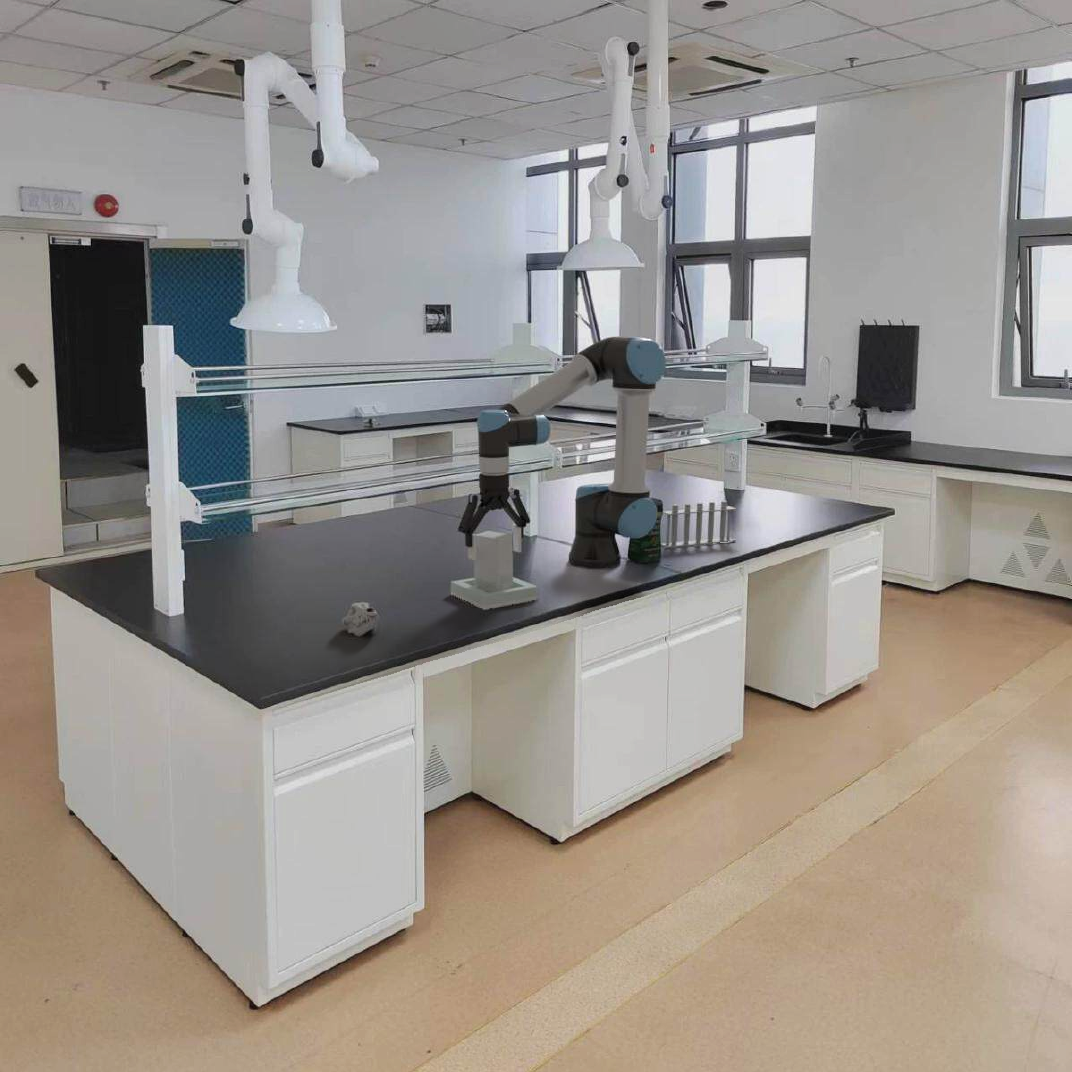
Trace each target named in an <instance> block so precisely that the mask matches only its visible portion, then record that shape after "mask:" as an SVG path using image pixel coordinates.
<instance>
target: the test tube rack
mask: <svg viewBox="0 0 1072 1072" xmlns="http://www.w3.org/2000/svg"><path fill="white" fill-rule="evenodd" d="M703 504H704V503H703V502H697V503H696V508H691V503H685V504H684V509H679V505H678V504H672V510H665V511H664V510H663V515H666V517H667V518H666V519H667V520H666V521H667V522H666V541H665V542H663V543H661V547H662V546H663V547H662V548H664V547H666V548H670V549H678V548H677V547H681V548H687V547H686V546H691V547H696V546H695V545H702V546H705V545H704V544H712V545H714V544H713V543H720V542H728V541H735V542H736V541H737V540H736V539H733V538H731V537H730V531H731V530H730V529H731V513H732V511H737V510H738V509H737V508H736V507H733V506H730V505H728V503H727V500H722V501H721V504H720V506H715V505H716V504H715V501H709V502H708V507H703V506H704V505H703ZM715 512H720V519H719V520H720V522H719V538H717V537H716V538H714V530H715V529H714V527H715V525H714V524H715ZM703 513H708V521H707V522H708V523H707V538H705V539H704V538H703V539H702V526H703V525H702V524H703ZM691 514H696V517H695V518H696V521H695V523H696V524H695V539H694V540H690V529H691V528H690V526H691V524H690V523H691ZM678 515H684V516H683V517H684V518H683V538H682V539H683V540H682V541H677V539H678V520H679V519H678V517H679V516H678ZM670 523H671V524H670ZM670 525H671V527H670ZM726 525H727V528H726ZM670 529H671V537H670ZM670 538H671V539H670ZM666 548H665V549H666Z"/></svg>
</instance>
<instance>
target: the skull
mask: <svg viewBox="0 0 1072 1072" xmlns="http://www.w3.org/2000/svg"><path fill="white" fill-rule="evenodd" d="M378 621H380V616H379V614H378V612H377V611H376V610H375V608H374V607H371V606H370V603H368V602H365V601H364V602H363V601H361V602H353V603H352V604H351V606H350V609H349V610H348V612H347V615H346V616H344V617H342V619H341V622H342V625H343V627H344V628H346V629H347V633H348V634H354V636H356V637H357V638H358V637H361V636H363V635H365V634H366V633H367V632H369V631H372V632H373V633H376V631H377V626H378Z"/></svg>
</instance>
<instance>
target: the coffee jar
mask: <svg viewBox="0 0 1072 1072" xmlns="http://www.w3.org/2000/svg"><path fill="white" fill-rule="evenodd" d="M650 499H651V500H652V501H653V502H654V503H655V505H656V507H657V520H656V523H655V525H654V527H653V528H652V530H650V531H649V533H648V534H647V535H645V536H644V537H641V538H637V539H634V538H629V540H628V543H629V544H628V549H627V559H628V560H629V561H630V562H632V563H639V564H648V563H649V564H650V563H654V562H660V560H661V559H662V546H661V538H662V537H661V522H662V518H663V515H664V513H663V511H664V504H663V500H662V499H659V498H656V497H650Z"/></svg>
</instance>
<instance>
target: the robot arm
mask: <svg viewBox="0 0 1072 1072" xmlns="http://www.w3.org/2000/svg"><path fill="white" fill-rule="evenodd" d="M666 367H667V359H666V355H665V352H664V350H663V348H662V347H661V346H660V345H659V344H658V343H657V342H656V341H655V340H653V339H649V338H644V337H627V336H626V337H625V336H609V337H606V338H603V339H600V340H598V341H597V342H595V343H593V344H591V345H589V346H587V347H586V348H584V349H582V350H581V351H579V352H578V353H576V354H574V355H573V356H572V358H571V361H570V362H569V363H567V364H566V365H564V366H563V367H561V368H560V369H558V370H557V371H555V372H553V373H552V374H550V375H549V376H547V377H545V378H544V379H542V380H540V381H539V382H538V383H536V384H535V385H533V386H531V387H530V388H528V389H527V390H525V391H523V392H522V393H521V394H519V395H517V396H516V397H515V398H512V399H511V400H510V401H508V402H507V403H505V404H503V405H501V406H500V407H497V408H496V409H485V410H484V409H483V410H481V411H480V412H479V413H478V418H477V421H476V427H477V434H478V435H477V436H478V437H477V438H478V472H480V473H479V475H478V487H479V494H474V493H469V494H468V497H467V498H468V500H467V502H468V503H467V504H466V508H465V510H464V512H463V514H462V517H461V521H460V523H459V526H458V527H457V531H458V532H459V533H462V534H464V539H465V540H464V542H465V544H464V545H465V547H467V557H468V558H467V559H469V560H472V561H474V560H476V534H475V532H476V529H477V528H478V527H479V525H480V524H481V522H482V520H483V518H484V517H485V516H486V514H488V513H489V512H490V511H495V510H503V511H504V512H505V513H506V514H507V515H508V517H509V518H510V519H511V520H512V521H513V523H514V524H515V525H513V526H512V552H513V551H514V552H515V553H522V539H524V536H525V535H524V534H525V533H524V532H525V531H524V528H525V527H527V524H530V523H531V519H530V516H529V515H528V512H527V510H526V507H525V506H524V503H523V500H522V499H521V493H520V490H519V489H517V488H514V487H510V474H509V473H508V472H509V471H510V448H515V447H516V448H517V447H525V446H537V445H542V444H545V443H547V442H548V440H549V439H550V436H551V425H550V422H549V419H548V418H547V416H545V415H544V413H545V412H547V411H548V410H550V409H552V408H553V407H555V406H556V405H558V404H559V403H561V402H563V401H564V400H566V399H567V398H568V397H571V396H573V394H575V393H576V392H578V391H579V390H581V389H583V388H584V387H586V386H587V387H592V386H594V385H596V384H597V383H599V382H601V381H606V380H607V381H608V380H612V386H611V387H612V390H614V392H615V393H616V394H617V404H616V420H615V421H616V425H615V426H616V427H615V444H614V447H615V448H614V466H613V470H614V471H613V482H612V483H592V484H583V485H580V486H579V487H578V488H576V492H575V499H574V500H575V510H574V511H575V514H574V515H575V518H574V519H575V521H574V524H575V525H574V526H575V529H574V539H573V542H572V545H571V548H570V551H569V552H568V563H569V564H570V565H571V566H574V567H578V568H583V569H594V570H595V569H597V570H598V569H599V570H600V569H610V568H615V567H618V566H620V565H621V560H622V559H621V558H622V557H621V553H620V548H619V545H618V542H617V538H616V535H618V536H620V537H623V538H627V539H628V538H629V539H630V538H634V539H637V538H641V537H644V536H645V535H647V534H648V533H649V531H650V530H652V528H653V527H654V525H655V523H656V520H657V507H656V505H655V503H654V502H653V501H652V500H651V499H650V498H651V497H650V496H651V489H650V487H649V486H648V485H647V484H646V469H647V467H646V466H647V450H648V432H649V412H650V411H649V410H650V409H649V408H650V396H651V394H652V393H653V392H654V391H656V385H657V382H659V381H660V380H661V379H662V376H664V375H665V372H666ZM509 487H510V489H509ZM509 499H511V501H512V503H513V505H514V508H515V510H516V511H517V512H516V511H515V510H514V508H513V507H512V504H510V502H509V501H508V500H509ZM478 504H479V505H478ZM476 509H477V510H476Z"/></svg>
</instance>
